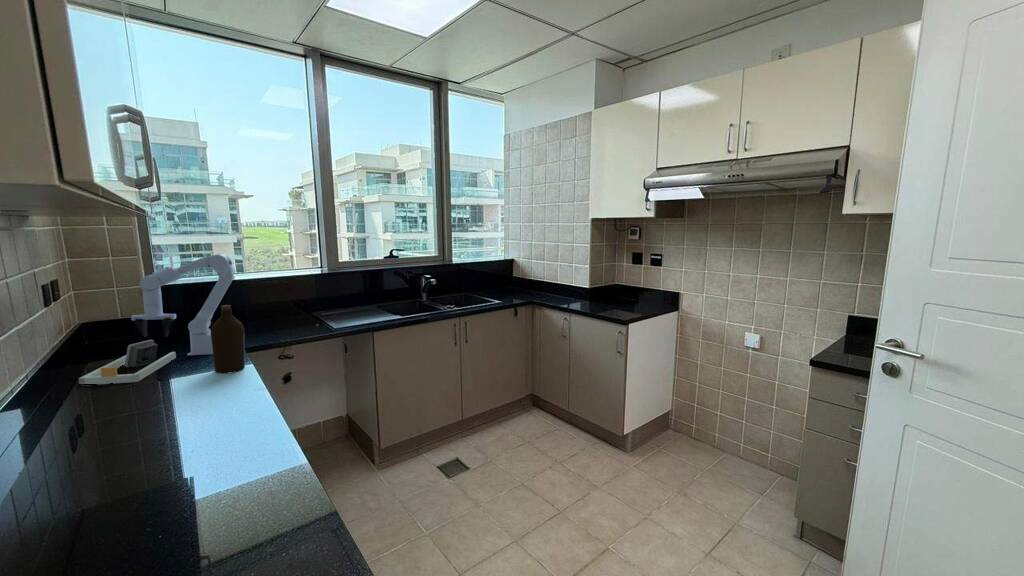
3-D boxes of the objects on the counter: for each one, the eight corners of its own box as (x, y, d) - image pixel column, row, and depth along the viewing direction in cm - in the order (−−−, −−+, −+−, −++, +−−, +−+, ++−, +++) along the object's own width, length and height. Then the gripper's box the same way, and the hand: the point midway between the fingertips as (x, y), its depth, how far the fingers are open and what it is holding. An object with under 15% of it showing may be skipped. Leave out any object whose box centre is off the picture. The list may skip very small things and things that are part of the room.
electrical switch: (148, 360, 168) (148, 338, 166) (159, 362, 167) (159, 340, 166) (124, 367, 159) (123, 344, 157) (135, 370, 158) (135, 346, 157)
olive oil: (223, 376, 153) (219, 309, 150) (207, 371, 158) (202, 306, 154) (252, 368, 162) (249, 305, 159) (236, 363, 167) (232, 302, 164)
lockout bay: (175, 357, 172) (174, 344, 171) (137, 381, 145) (136, 366, 144) (128, 360, 167) (127, 347, 166) (79, 385, 140) (77, 369, 139)
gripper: (178, 302, 177) (181, 333, 178) (136, 303, 172) (139, 335, 174) (170, 305, 170) (173, 337, 172) (127, 306, 166) (130, 339, 167)
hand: (155, 336), depth 172 cm, fingers open, 7 cm apart
